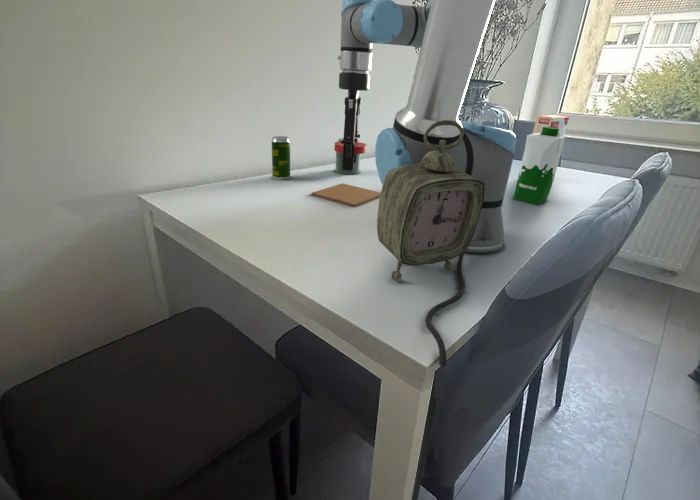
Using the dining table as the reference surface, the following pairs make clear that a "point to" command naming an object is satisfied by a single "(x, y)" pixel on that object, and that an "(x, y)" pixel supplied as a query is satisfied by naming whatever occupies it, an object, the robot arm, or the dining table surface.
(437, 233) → the tabletop clock
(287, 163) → the beer can
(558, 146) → the milk carton
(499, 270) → the dining table surface
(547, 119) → the cracker box
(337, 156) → the jar
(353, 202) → the mat
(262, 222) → the dining table surface
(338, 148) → the lid
